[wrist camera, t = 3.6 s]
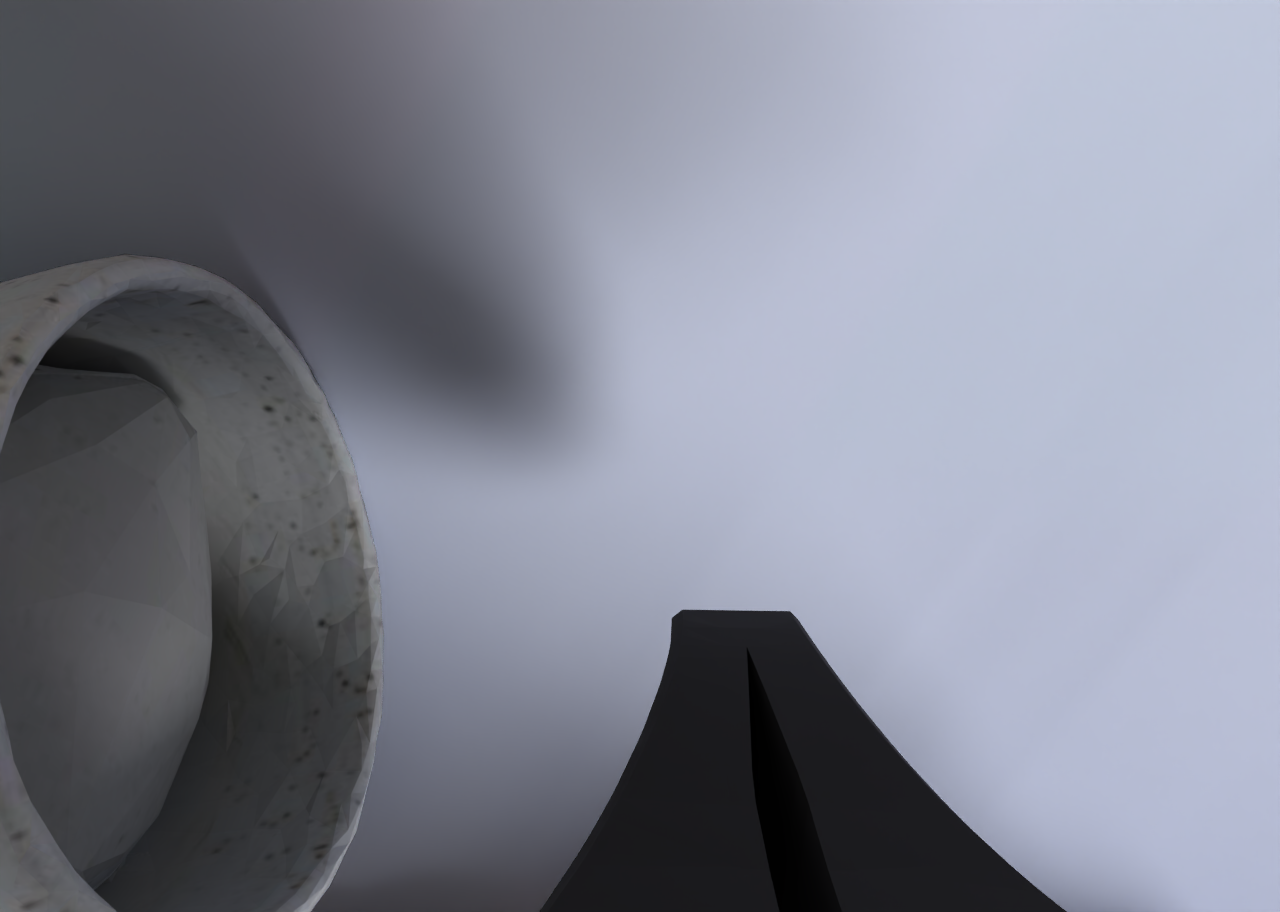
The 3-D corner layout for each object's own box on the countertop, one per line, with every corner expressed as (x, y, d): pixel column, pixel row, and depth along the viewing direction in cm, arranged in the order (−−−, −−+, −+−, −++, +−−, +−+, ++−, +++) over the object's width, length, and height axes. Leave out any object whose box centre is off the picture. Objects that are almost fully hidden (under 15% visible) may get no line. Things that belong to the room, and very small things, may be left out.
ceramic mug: (-315, 313, 13) (-1302, 691, 7) (249, 177, 13) (-207, 445, 6) (61, 851, 18) (-285, 1396, 11) (489, 775, 17) (394, 1314, 10)
